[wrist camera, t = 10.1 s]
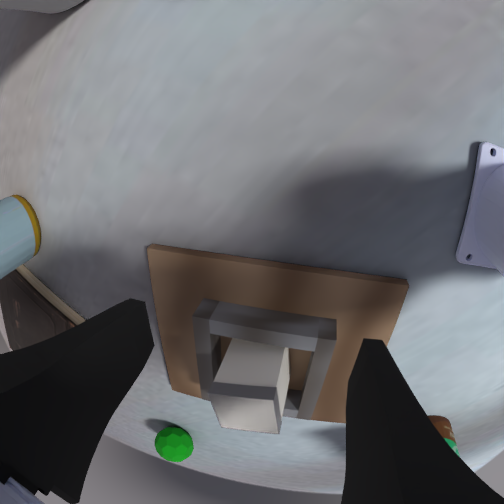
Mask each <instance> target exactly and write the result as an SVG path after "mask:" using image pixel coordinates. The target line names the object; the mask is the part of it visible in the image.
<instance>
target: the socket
mask: <svg viewBox="0 0 504 504" xmlns="http://www.w3.org/2000/svg"><path fill="white" fill-rule="evenodd" d="M147 254H148V262H149V270H150V277H151V284H152V291H153V297H154V303H155V309H156V315H157V321H158V326H159V331H160V337H161V342H162V347H163V351H164V356H165V361H166V365H167V370H168V374H169V378H170V383H171V387H172V390H174V391H177V392H181V393H184V394H187V395H191V396H194V397H198V398H202V399H204V400H208V401H210V399H209V396H208V394H207V392H208V390H209V388H210V386H211V383H212V381H214V379H215V377H216V375H217V372H218V370H219V368H220V366H221V363H222V361H223V359H224V356H225V354H226V352H227V349H228V347H229V345H230V343H231V340H232V338H235V339H240V340H246V341H251V342H257V343H262V344H268V345H274V346H280V347H286V348H289V356H290V367H291V374H290V380H289V385H288V390H287V395H286V400H285V405H284V410H283V415H282V416H285V417H292V418H299V419H306V420H317V421H326V422H337V423H346V399H347V387H348V380H349V377H350V375H351V372H352V370H353V367H354V364H355V361H356V359H357V356H358V353H359V350H360V347H361V344H362V341H363V338H368V339H378V340H383V342H384V343H385V345H386V347H387V344H388V342H389V340H390V337H391V335H392V332H393V330H394V327H395V324H396V322H397V319H398V316H399V314H400V311H401V308H402V305H403V303H404V300H405V297H406V294H407V291H408V288H409V284H408V282H407V280H406V279H399V278H391V277H384V276H377V275H369V274H362V273H354V272H347V271H340V270H333V269H325V268H318V267H311V266H304V265H296V264H289V263H282V262H275V261H268V260H261V259H254V258H247V257H240V256H233V255H226V254H219V253H212V252H205V251H198V250H191V249H184V248H177V247H171V246H164V245H157V244H151V245H150V246H149V247H148V248H147Z"/></svg>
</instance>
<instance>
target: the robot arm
mask: <svg viewBox="0 0 504 504" xmlns="http://www.w3.org/2000/svg"><path fill="white" fill-rule="evenodd" d="M491 149H493V155H492V156H491V154H490V150H491ZM468 254H470V256H469V258H467V259H466V257H467V255H468ZM455 256H456V259H457V260H458V262H460V263H463V264H470V265H476V266H481V267H487V268H493V269H498V271H499V272H500V273H501V274H502V275H503V276H504V148H502V147H499V146H497V145H494V144H491V143H489V142H481V143H480V145H479V149H478V157H477V163H476V170H475V176H474V181H473V187H472V192H471V196H470V201H469V206H468V210H467V214H466V218H465V222H464V226H463V230H462V234H461V237H460V241H459V244H458V248H457V251H456V255H455ZM153 347H154V342H153V337H152V333H151V329H150V324H149V319H148V315H147V310H146V305H145V302H143V301H139V300H135V299H128V300H126V301H124V302H122V303H119V304H117V305H115V306H113V307H111V308H109V309H108V310H106V311H104V312H102V313H100V314H98V315H96V316H94V317H92V318H90V319H88V320H86V321H85V322H83V323H81V324H79V325H77V326H75V327H72V328H70V329H68V330H66V331H64V332H62V333H60V334H58V335H56V336H54V337H51V338H49V339H46V340H44V341H42V342H39V343H36V344H33V345H31V346H28V347H25V348H22V349H18V350H14V351H11V352H7V353H4V354H0V504H44V503H43V502H42V501H40V500H39V499H38V498H37V497H36V496H34V495H35V494H36V492H37V491H38V490H39V491H40V492H41V493H43V494H44V495H46V496H47V495H48V494H49V492H50V491H52V492H53V493H55V494H56V495H58V496H59V497H61V498H62V499H64V500H65V501H67V502H68V503H70V504H76V503H78V502H79V500H80V495H81V492H82V488H83V484H84V481H85V477H86V474H87V471H88V468H89V465H90V463H91V460H92V457H93V455H94V453H95V450H96V448H97V445H98V443H99V441H100V439H101V436H102V434H103V432H104V430H105V428H106V426H107V424H108V422H109V420H110V419H111V417H112V415H113V413H114V412H115V410H116V409H117V407H118V406H119V404H120V403H121V401H122V400H123V398H124V397H125V395H126V394H127V392H128V391H129V389H130V388H131V386H132V385H133V383H134V382H135V380H136V379H137V377H138V376H139V374H140V373H141V371H142V370H143V368H144V366H145V364H146V362H147V360H148V358H149V356H150V354H151V352H152V349H153ZM341 504H504V498H503V497H502V496H500V495H499V494H498V493H496V492H495V491H494V490H492V489H491V488H490V487H489V486H488V485H487V484H486V483H485V482H484V481H482V480H481V479H480V478H479V477H478V476H477V475H476V474H475V473H474V472H473V471H472V470H471V469H470V468H469V467H468V466H467V465H466V464H465V462H464V461H463V460H462V459H461V458H460V457H459V456H458V455H457V454H456V453H455V452H454V450H453V449H452V448H451V447H450V446H449V444H448V443H447V442H446V441H445V439H444V438H443V437H442V435H441V434H440V433H439V432H438V430H437V429H436V428H435V426H434V425H433V423H432V422H431V421H430V419H429V418H428V416H427V415H426V413H425V411H424V410H423V408H422V407H421V405H420V404H419V402H418V401H417V399H416V397H415V396H414V394H413V392H412V391H411V389H410V387H409V386H408V384H407V382H406V381H405V379H404V377H403V376H402V374H401V372H400V370H399V368H398V367H397V365H396V363H395V361H394V360H393V358H392V356H391V354H390V352H389V350H388V349H387V347H386V345H385V343H384V342H383V340H378V339H368V338H363V341H362V344H361V347H360V350H359V353H358V356H357V359H356V361H355V364H354V367H353V370H352V372H351V375H350V377H349V380H348V387H347V399H346V473H345V483H344V489H343V495H342V501H341Z"/></svg>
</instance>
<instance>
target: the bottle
mask: <svg viewBox="0 0 504 504" xmlns="http://www.w3.org/2000/svg"><path fill="white" fill-rule="evenodd" d="M40 241H41V230H40V225H39V221H38V218H37V216H36V213H35V211H34V209H33V208H32V206H31V205H30V203H29V202H28V201H27V200H25V199H24V198H22V197H20V196H18V195H12V196H10V197H7V198H4V199H2V200H0V279H2V278H3V277H4V276H6V275H7V274H9V273H10V272H12V271H13V270H15V269H16V268H17V267H19V266H20V265H22V264H23V263H25V262H26V261H28V260H29V259H31V258H32V257H33V256H35V255H36V254H37V252H38V250H39V246H40Z"/></svg>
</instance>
